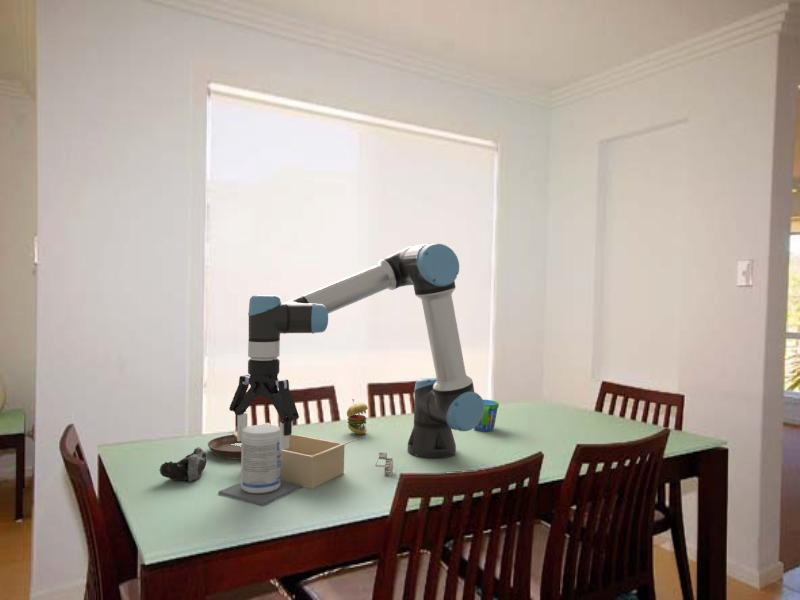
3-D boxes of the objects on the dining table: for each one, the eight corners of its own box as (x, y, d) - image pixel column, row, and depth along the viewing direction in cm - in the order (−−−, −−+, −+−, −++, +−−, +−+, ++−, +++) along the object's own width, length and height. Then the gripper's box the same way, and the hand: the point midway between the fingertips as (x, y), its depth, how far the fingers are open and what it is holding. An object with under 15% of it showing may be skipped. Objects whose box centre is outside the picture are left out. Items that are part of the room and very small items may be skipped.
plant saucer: (221, 441, 181) (221, 431, 181) (285, 444, 181) (285, 433, 181) (196, 461, 161) (196, 449, 161) (268, 464, 160) (268, 452, 160)
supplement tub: (286, 490, 137) (287, 430, 137) (248, 497, 132) (249, 435, 132) (271, 478, 145) (273, 422, 145) (235, 485, 140) (236, 426, 140)
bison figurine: (207, 469, 154) (169, 468, 152) (209, 444, 154) (170, 443, 152) (199, 485, 142) (157, 485, 140) (201, 458, 142) (159, 457, 140)
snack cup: (470, 423, 214) (471, 396, 214) (498, 425, 212) (499, 398, 212) (467, 433, 199) (468, 405, 199) (497, 436, 197) (498, 407, 197)
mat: (301, 487, 141) (301, 485, 141) (262, 505, 129) (262, 503, 129) (259, 477, 148) (259, 475, 148) (218, 493, 136) (218, 491, 136)
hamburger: (362, 437, 190) (363, 402, 190) (342, 434, 193) (343, 400, 192) (370, 431, 198) (371, 398, 197) (351, 429, 200) (352, 396, 200)
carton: (356, 475, 151) (357, 438, 151) (325, 491, 139) (326, 451, 139) (267, 456, 166) (267, 422, 166) (231, 469, 154) (232, 432, 154)
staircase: (378, 472, 156) (379, 452, 156) (392, 473, 156) (393, 453, 156) (375, 480, 150) (375, 459, 150) (389, 480, 149) (390, 460, 149)
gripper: (314, 360, 135) (312, 448, 136) (237, 352, 147) (236, 433, 148) (294, 364, 129) (292, 456, 129) (215, 355, 140) (214, 440, 141)
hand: (262, 444), depth 138 cm, fingers open, 13 cm apart
